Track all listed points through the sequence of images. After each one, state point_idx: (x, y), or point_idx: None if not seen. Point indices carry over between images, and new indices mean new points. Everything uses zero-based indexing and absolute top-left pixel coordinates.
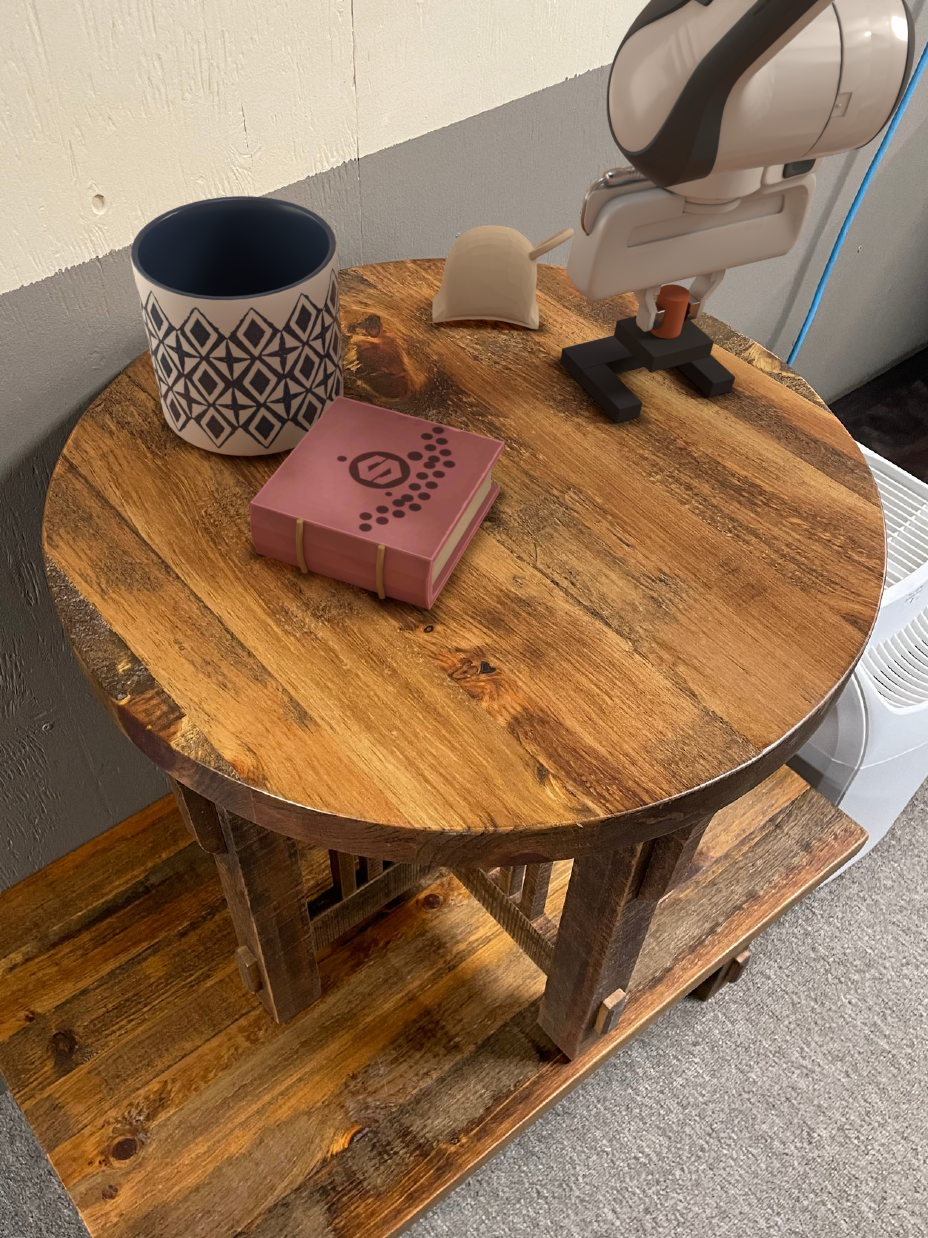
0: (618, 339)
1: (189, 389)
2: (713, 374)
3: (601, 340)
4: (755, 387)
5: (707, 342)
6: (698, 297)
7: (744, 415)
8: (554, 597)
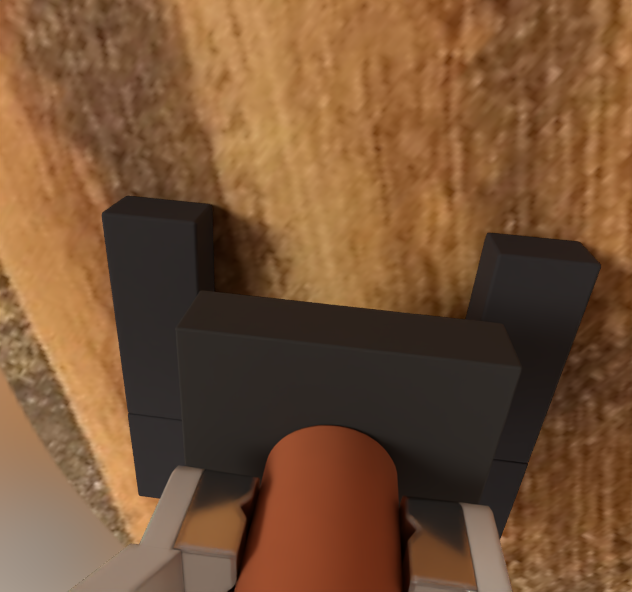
0: None
1: None
2: (167, 260)
3: None
4: (38, 174)
5: (210, 335)
6: (173, 575)
7: (151, 59)
8: None
